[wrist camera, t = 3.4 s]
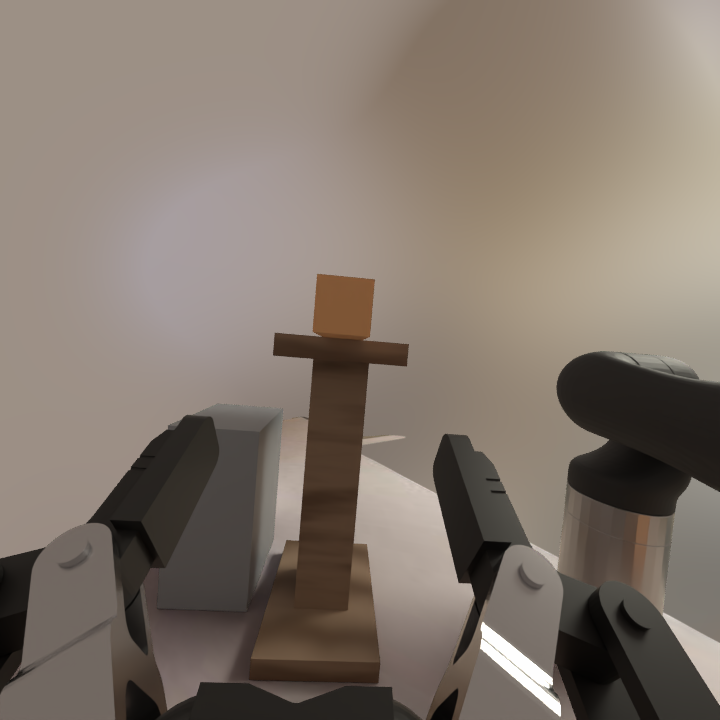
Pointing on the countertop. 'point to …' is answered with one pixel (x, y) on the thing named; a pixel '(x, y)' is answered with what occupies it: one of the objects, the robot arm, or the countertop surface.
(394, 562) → the countertop surface
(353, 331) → the orange bar
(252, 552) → the grey riser
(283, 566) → the stand
